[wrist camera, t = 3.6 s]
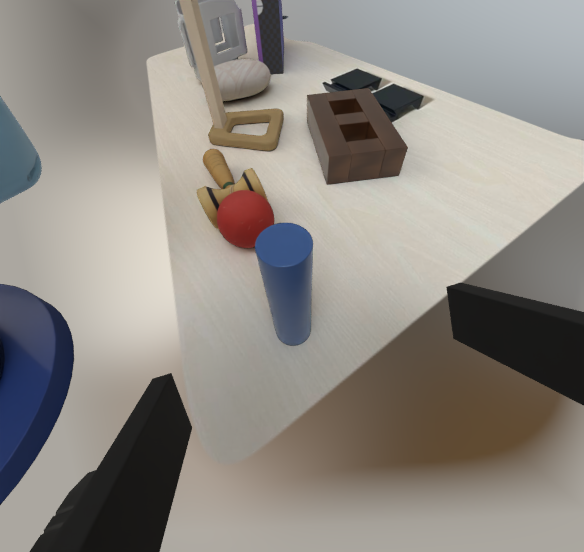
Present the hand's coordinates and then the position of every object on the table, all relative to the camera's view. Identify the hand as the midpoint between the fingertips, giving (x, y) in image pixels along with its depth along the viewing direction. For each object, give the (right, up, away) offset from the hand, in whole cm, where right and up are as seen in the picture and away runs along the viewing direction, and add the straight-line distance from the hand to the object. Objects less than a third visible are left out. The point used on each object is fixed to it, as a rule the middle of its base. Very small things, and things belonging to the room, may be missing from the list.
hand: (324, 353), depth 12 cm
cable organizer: (-16, +46, +45) cm, 66 cm away
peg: (-1, -1, +12) cm, 13 cm away
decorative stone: (-12, +38, +40) cm, 56 cm away
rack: (+7, +23, +28) cm, 37 cm away
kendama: (-9, +12, +22) cm, 27 cm away
